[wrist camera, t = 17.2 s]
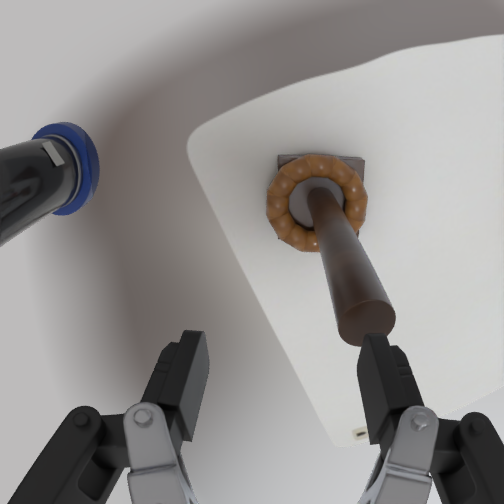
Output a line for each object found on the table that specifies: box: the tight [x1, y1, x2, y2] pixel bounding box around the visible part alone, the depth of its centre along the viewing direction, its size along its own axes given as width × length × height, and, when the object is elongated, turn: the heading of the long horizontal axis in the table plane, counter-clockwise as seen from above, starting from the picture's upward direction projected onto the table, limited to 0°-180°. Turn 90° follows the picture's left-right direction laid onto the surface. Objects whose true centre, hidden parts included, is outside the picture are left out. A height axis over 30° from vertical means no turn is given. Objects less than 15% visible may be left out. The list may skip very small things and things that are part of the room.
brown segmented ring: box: [266, 154, 368, 252], centre depth 28 cm, size 9×9×2 cm
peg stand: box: [278, 155, 396, 347], centre depth 21 cm, size 8×8×20 cm
